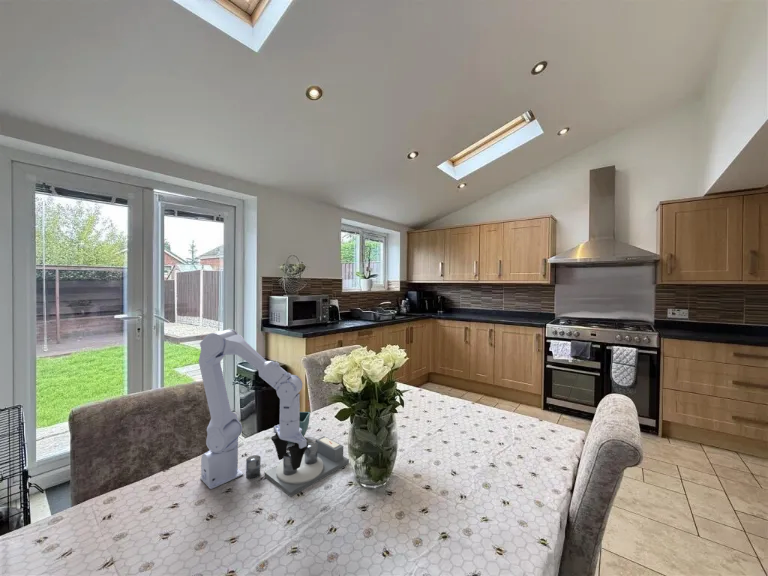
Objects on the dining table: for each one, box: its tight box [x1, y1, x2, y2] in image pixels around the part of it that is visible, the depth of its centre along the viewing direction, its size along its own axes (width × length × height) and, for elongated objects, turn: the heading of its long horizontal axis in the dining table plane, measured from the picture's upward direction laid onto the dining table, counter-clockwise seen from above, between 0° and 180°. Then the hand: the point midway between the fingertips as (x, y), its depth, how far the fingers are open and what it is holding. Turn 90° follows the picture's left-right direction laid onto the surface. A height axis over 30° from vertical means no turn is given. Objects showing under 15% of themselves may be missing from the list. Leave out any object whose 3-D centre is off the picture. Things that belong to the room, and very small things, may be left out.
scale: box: [263, 435, 350, 497], centre depth 99 cm, size 22×14×6 cm, turn 140°
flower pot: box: [288, 411, 311, 444], centre depth 118 cm, size 9×9×9 cm
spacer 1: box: [245, 454, 261, 480], centre depth 96 cm, size 4×4×5 cm
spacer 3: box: [304, 442, 318, 465], centre depth 100 cm, size 4×4×5 cm
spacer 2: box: [282, 451, 297, 476], centre depth 94 cm, size 4×4×5 cm
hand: (289, 463), depth 94 cm, fingers open, 7 cm apart
